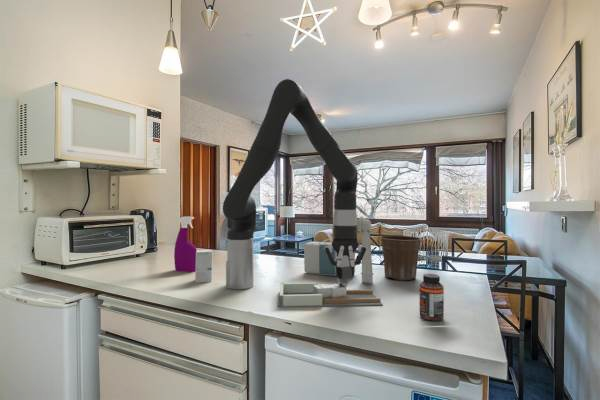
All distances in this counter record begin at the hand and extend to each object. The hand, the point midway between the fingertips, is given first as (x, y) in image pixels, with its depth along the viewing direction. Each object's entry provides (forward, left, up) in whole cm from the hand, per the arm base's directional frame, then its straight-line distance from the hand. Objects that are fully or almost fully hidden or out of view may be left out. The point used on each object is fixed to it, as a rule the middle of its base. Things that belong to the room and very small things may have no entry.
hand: (344, 277), depth 100 cm
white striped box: (0, +33, -7) cm, 34 cm away
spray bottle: (-62, +39, -7) cm, 74 cm away
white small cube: (-3, -1, -6) cm, 7 cm away
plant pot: (+28, +27, -7) cm, 39 cm away
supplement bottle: (+20, -17, -7) cm, 27 cm away
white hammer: (+11, +19, -7) cm, 23 cm away
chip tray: (-14, 0, -7) cm, 16 cm away
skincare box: (-50, +23, -7) cm, 55 cm away
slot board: (-6, 0, -7) cm, 9 cm away
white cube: (-7, -1, -6) cm, 10 cm away
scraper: (0, +6, -2) cm, 7 cm away
